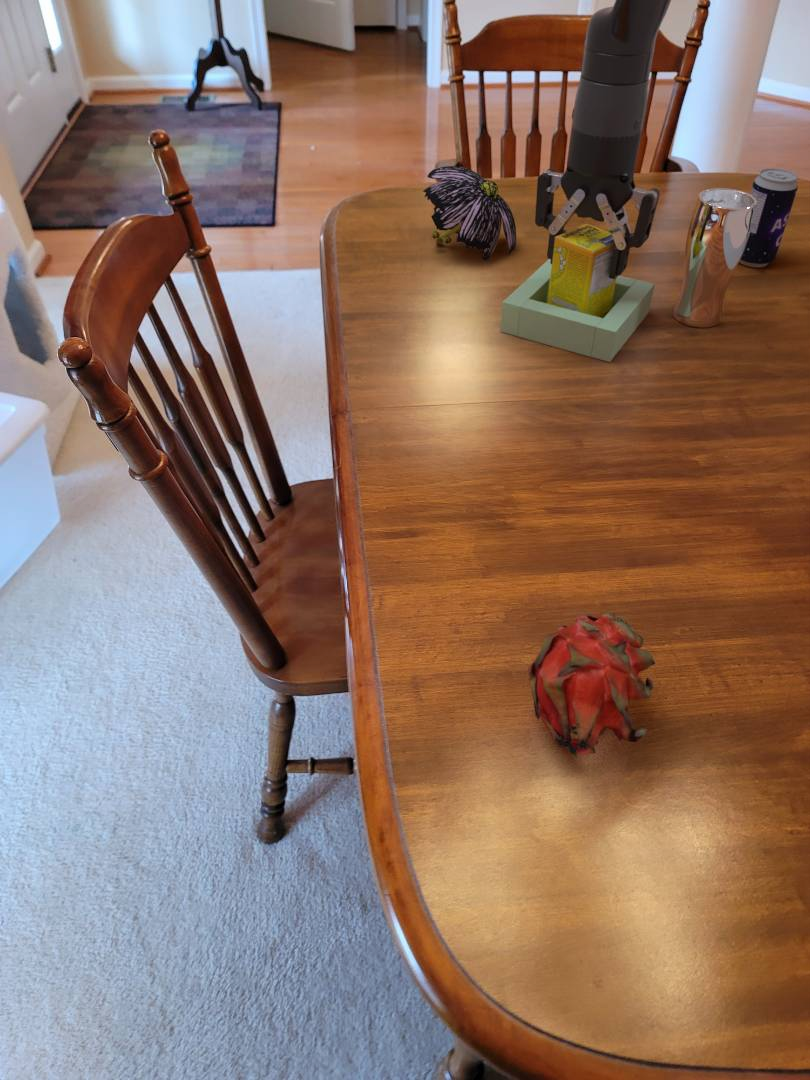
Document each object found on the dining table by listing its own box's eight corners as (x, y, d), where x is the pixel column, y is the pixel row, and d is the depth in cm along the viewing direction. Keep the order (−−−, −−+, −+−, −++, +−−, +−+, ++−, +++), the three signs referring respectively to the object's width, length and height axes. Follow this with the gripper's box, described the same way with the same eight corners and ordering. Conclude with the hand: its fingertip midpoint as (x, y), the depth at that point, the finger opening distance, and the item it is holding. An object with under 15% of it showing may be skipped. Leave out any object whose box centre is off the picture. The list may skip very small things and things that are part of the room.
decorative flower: (501, 207, 108) (419, 147, 112) (461, 286, 115) (385, 227, 119) (551, 206, 119) (475, 151, 123) (512, 278, 126) (441, 224, 130)
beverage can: (762, 273, 116) (790, 185, 108) (725, 261, 119) (749, 174, 111) (780, 260, 119) (808, 174, 111) (743, 249, 122) (767, 164, 114)
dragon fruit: (608, 662, 67) (568, 797, 60) (529, 602, 65) (479, 734, 58) (689, 634, 60) (655, 781, 54) (605, 566, 59) (558, 710, 52)
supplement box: (572, 305, 109) (585, 221, 101) (610, 321, 106) (625, 236, 98) (543, 320, 106) (553, 235, 98) (580, 337, 103) (594, 251, 95)
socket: (648, 312, 108) (655, 283, 105) (609, 362, 99) (615, 331, 96) (545, 286, 113) (549, 258, 110) (499, 331, 104) (502, 301, 101)
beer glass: (727, 332, 104) (762, 211, 94) (670, 327, 105) (699, 207, 95) (721, 306, 109) (754, 189, 99) (667, 301, 110) (694, 185, 100)
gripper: (683, 124, 90) (651, 271, 101) (559, 104, 95) (542, 245, 106) (661, 144, 85) (631, 295, 96) (532, 121, 90) (517, 267, 101)
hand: (584, 269), depth 101 cm, fingers closed on supplement box, 7 cm apart
